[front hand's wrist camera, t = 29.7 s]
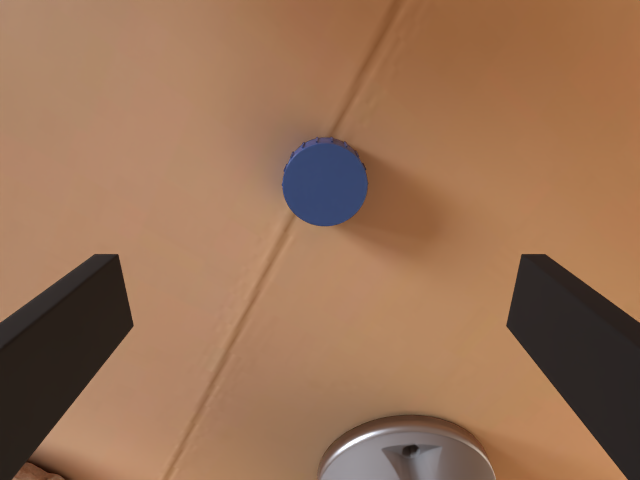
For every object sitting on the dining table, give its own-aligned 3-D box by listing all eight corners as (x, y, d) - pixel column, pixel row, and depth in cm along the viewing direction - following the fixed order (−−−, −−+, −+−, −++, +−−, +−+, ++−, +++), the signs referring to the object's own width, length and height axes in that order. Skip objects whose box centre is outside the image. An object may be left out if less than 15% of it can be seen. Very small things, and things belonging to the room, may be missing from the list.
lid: (358, 128, 22) (361, 133, 20) (369, 207, 24) (374, 219, 22) (276, 144, 23) (272, 151, 21) (294, 221, 25) (292, 234, 22)
